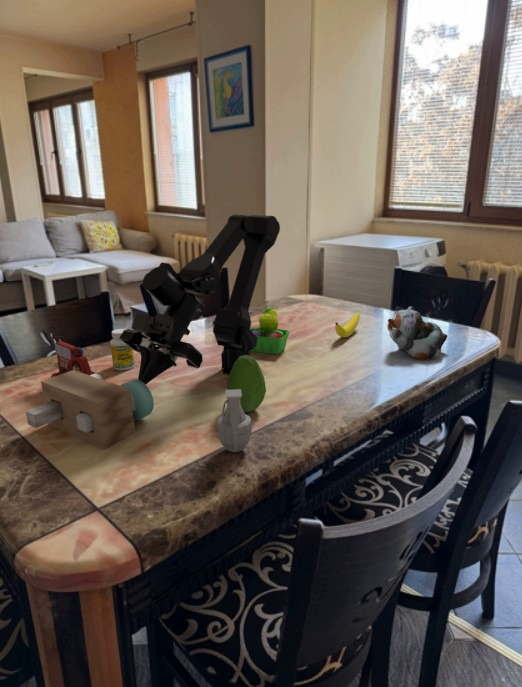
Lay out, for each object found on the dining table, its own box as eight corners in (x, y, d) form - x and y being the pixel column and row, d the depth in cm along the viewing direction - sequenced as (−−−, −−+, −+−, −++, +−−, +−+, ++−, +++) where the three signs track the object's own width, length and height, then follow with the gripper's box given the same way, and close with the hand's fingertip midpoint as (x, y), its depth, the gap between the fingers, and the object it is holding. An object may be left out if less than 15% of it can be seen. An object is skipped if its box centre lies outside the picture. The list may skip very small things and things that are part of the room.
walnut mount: (90, 406, 104) (84, 365, 101) (145, 427, 94) (141, 384, 92) (22, 434, 92) (14, 390, 90) (78, 463, 83) (71, 414, 80)
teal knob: (129, 410, 101) (125, 375, 98) (155, 419, 96) (151, 383, 94) (71, 437, 90) (65, 399, 88) (97, 449, 86) (92, 410, 84)
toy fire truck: (77, 401, 106) (70, 356, 103) (48, 387, 114) (41, 344, 111) (105, 391, 111) (100, 347, 108) (76, 378, 119) (70, 336, 116)
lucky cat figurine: (433, 364, 124) (409, 317, 121) (393, 370, 133) (370, 327, 130) (455, 334, 133) (433, 289, 130) (416, 342, 142) (395, 300, 139)
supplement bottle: (130, 361, 129) (127, 326, 126) (138, 368, 124) (134, 331, 121) (110, 366, 126) (106, 330, 123) (117, 372, 122) (112, 335, 119)
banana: (363, 327, 155) (364, 308, 153) (340, 345, 140) (341, 323, 138) (354, 326, 156) (355, 307, 154) (330, 343, 141) (331, 322, 139)
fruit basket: (241, 352, 135) (240, 311, 132) (254, 342, 143) (253, 304, 139) (281, 356, 131) (281, 315, 127) (291, 346, 139) (292, 307, 135)
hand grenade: (218, 442, 89) (215, 386, 85) (250, 440, 89) (249, 384, 86) (218, 461, 83) (215, 402, 79) (253, 460, 83) (252, 400, 80)
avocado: (252, 422, 96) (251, 364, 92) (219, 413, 100) (217, 357, 96) (273, 407, 102) (272, 352, 99) (241, 398, 106) (240, 346, 103)
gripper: (122, 290, 101) (82, 356, 96) (189, 302, 90) (148, 377, 85) (154, 319, 109) (118, 381, 104) (218, 333, 99) (183, 403, 94)
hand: (140, 385), depth 97 cm, fingers closed, pressing on teal knob
